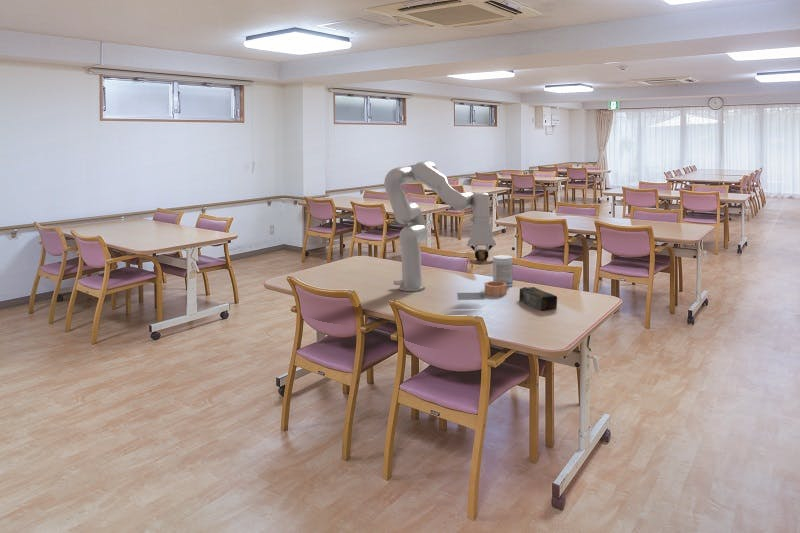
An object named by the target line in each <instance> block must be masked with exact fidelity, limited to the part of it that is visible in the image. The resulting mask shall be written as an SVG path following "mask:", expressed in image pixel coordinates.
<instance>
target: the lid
mask: <svg viewBox="0 0 800 533" xmlns="http://www.w3.org/2000/svg"><path fill="white" fill-rule="evenodd" d="M485 249H486V248H477V250H478V260H477V259H476V258H475V257H474V258H470V259H469V264H471V265H479V266H483V265H491V264H492V265H493V262H494V260H493V258H490V257H488V258H487V260H485Z"/></svg>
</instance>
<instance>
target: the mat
mask: <svg viewBox="0 0 800 533" xmlns="http://www.w3.org/2000/svg"><path fill="white" fill-rule="evenodd" d="M456 294H457V295H456V296H457V300H458V301H461V300H463V301H465V300H467V301H469V300H472V301H473V300H475V301H476V300H479V301H480V300H485V297H484V293H483V292H457V293H456Z"/></svg>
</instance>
